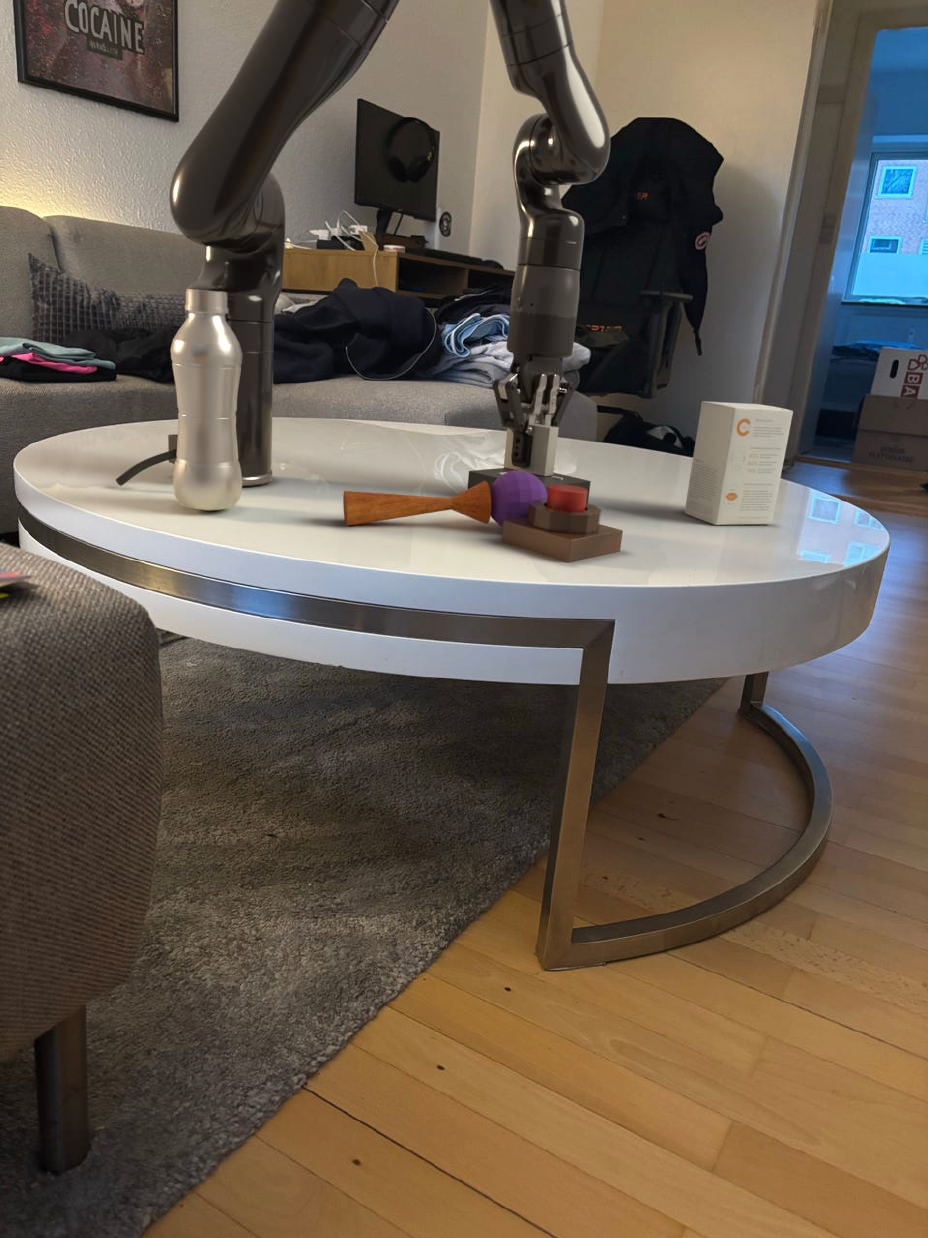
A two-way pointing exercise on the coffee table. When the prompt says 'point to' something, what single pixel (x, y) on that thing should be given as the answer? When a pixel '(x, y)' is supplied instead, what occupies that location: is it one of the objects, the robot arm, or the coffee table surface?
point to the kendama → (451, 501)
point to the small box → (737, 463)
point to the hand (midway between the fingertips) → (526, 465)
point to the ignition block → (562, 533)
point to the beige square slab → (536, 450)
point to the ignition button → (566, 498)
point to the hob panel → (493, 474)
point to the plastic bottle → (206, 405)
